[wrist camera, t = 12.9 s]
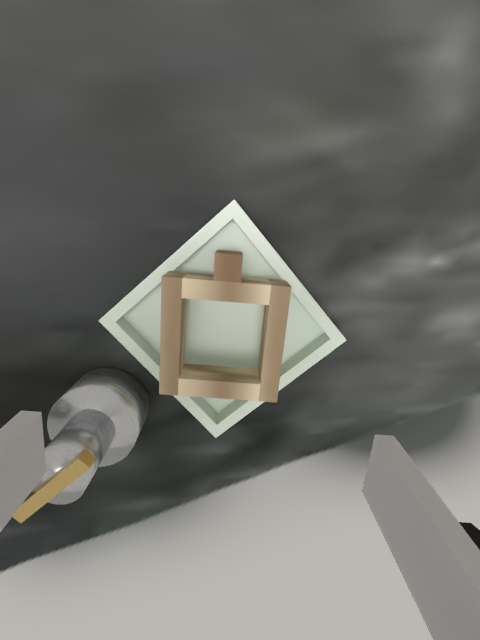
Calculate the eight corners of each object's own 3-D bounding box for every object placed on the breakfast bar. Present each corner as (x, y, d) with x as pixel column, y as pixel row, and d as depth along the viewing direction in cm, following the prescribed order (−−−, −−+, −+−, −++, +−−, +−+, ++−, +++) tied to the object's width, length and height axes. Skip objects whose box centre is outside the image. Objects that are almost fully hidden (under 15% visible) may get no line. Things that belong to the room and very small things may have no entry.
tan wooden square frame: (166, 377, 30) (159, 394, 27) (170, 245, 27) (162, 248, 24) (273, 385, 30) (276, 402, 27) (288, 255, 27) (294, 259, 24)
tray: (109, 313, 31) (98, 320, 28) (234, 201, 28) (234, 199, 26) (217, 422, 34) (215, 437, 32) (338, 331, 32) (346, 340, 29)
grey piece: (55, 399, 33) (-35, 486, 22) (109, 352, 32) (42, 420, 21) (111, 449, 35) (54, 554, 24) (165, 406, 33) (131, 496, 22)
